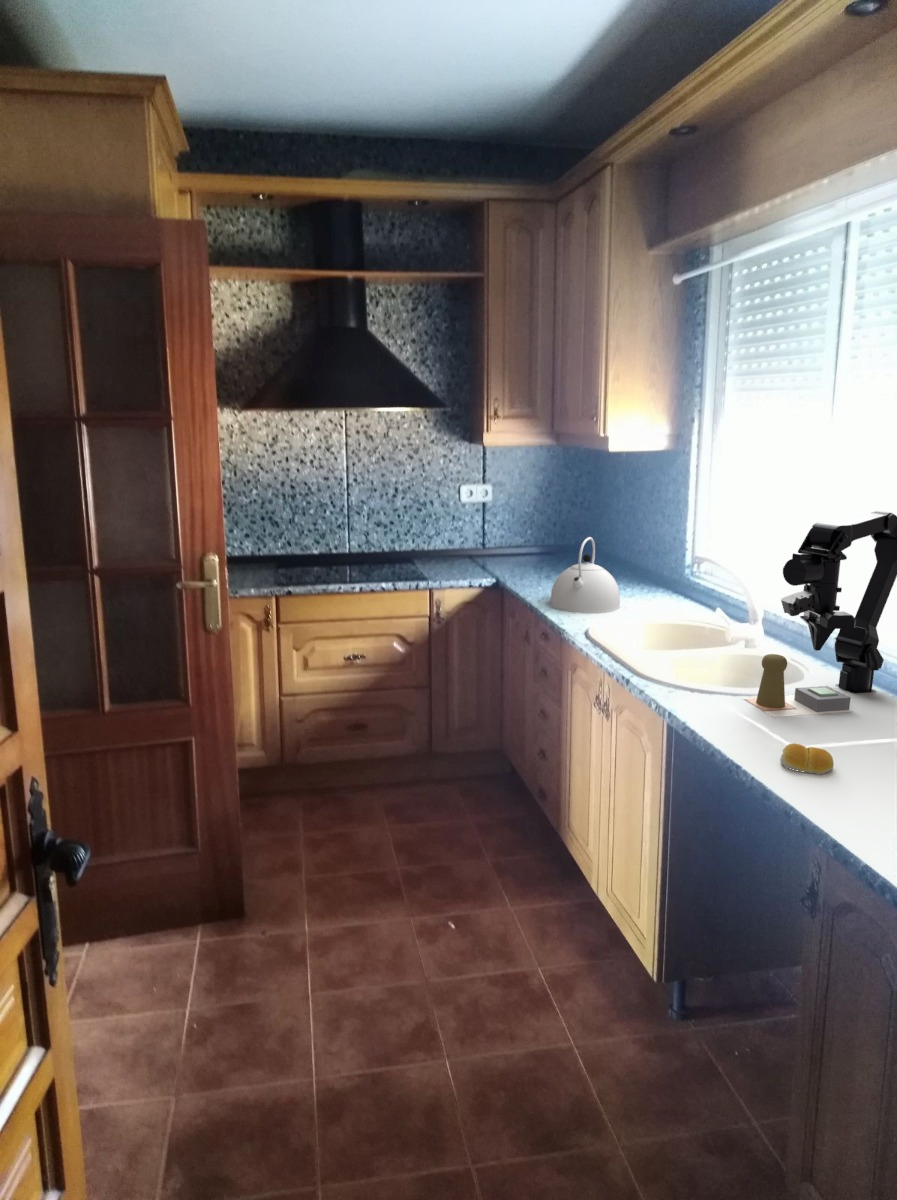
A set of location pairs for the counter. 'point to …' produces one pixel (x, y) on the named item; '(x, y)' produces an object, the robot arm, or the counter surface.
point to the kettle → (585, 587)
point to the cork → (772, 682)
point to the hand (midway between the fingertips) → (816, 650)
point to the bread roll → (807, 759)
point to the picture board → (798, 711)
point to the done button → (822, 692)
